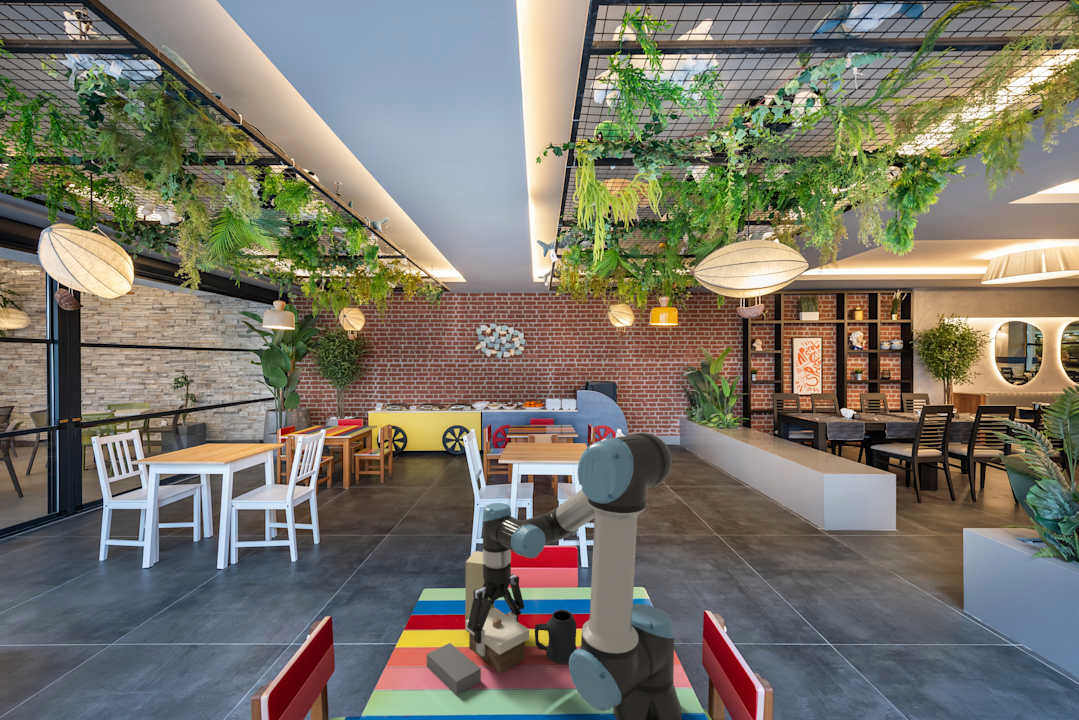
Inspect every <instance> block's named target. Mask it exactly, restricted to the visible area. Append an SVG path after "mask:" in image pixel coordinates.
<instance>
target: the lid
mask: <svg viewBox="0 0 1079 720" xmlns="http://www.w3.org/2000/svg"><path fill="white" fill-rule="evenodd" d="M468 622H469V619H468V620H466V630H465V631H467V632H468V633H469V632H470V633H471V634H472V635H474V632H472V631H471V630H470V629H468ZM483 630H485V644H486V645H487V646H488V647H490V648H491V649H492V650H494V651H495V652H496V653H498V654H499V655H500V654H502V653H504V652H506V651H507V650H509V649H511V648H513V647H515V646H517V645H519V644H520V643H522V642H524V641H525V642H526V641H527V640H530V629H529V628H528V627H526V626H525V625H523V624H521V623H520V622H519V621H518V622H517V621H515V620H514V619H512V618H510V617H509V616H508V614H505V613H504V612H502V611H501V610H499V609H498V608H497V607H494V608H493V609H490V611H489V614H488V616H487V619H486V621H485V624H484V626H483Z"/></svg>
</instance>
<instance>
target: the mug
mask: <svg viewBox="0 0 1079 720" xmlns="http://www.w3.org/2000/svg"><path fill="white" fill-rule="evenodd" d="M539 631H546V632H547V633H548V644H547V646H545V644H543V643H541V642H540V640H539ZM576 638H577V622H576V619H575V618H574V615H573V613H572V612H571V611H569V610H566V609H558V610H555V611H554V612H553V613H552V614H551V617H550V619H548V621H546V622H545V623H536V624H535V625H534V640H535V641H534V642H535V646H536V647H537V649H539V650H540V651H545V652H546V653H545V655H546V658H547V659H548V660H549V661H551V662H552V663H553V664H558V665H569V659H570V656H571V654H572V653H573V652H574V651H575V650H576V649H578V648H577V643H576V642H577V641H576V640H577V639H576Z"/></svg>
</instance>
